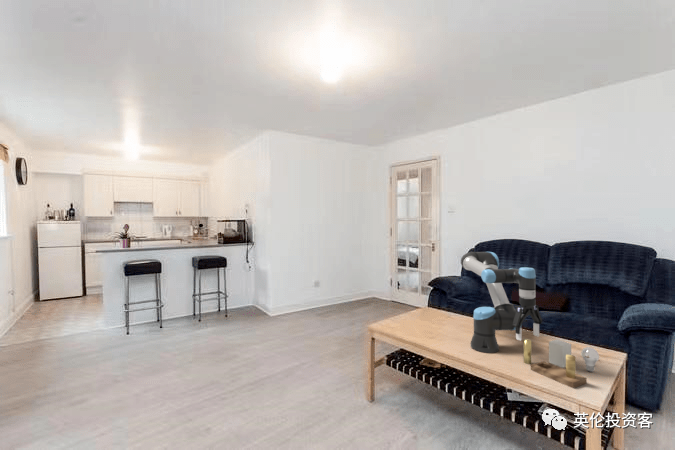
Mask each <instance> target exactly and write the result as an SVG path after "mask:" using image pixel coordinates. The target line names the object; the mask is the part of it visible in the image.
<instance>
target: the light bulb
mask: <svg viewBox="0 0 675 450" xmlns="http://www.w3.org/2000/svg"><path fill="white" fill-rule="evenodd" d="M581 357H582V359H583V360H584V364H585V370H586V371H587V372H589V373H593V372H595V366H596V363H597V362H598V361H599V358H600V354H599V351H598V350H596V349H595V348H594V347H591V346H586V347H584V348H583V349H581Z"/></svg>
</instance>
